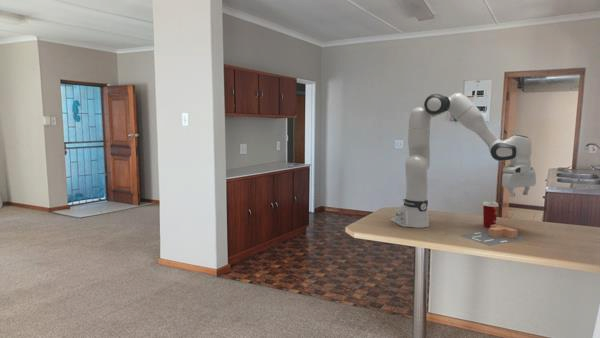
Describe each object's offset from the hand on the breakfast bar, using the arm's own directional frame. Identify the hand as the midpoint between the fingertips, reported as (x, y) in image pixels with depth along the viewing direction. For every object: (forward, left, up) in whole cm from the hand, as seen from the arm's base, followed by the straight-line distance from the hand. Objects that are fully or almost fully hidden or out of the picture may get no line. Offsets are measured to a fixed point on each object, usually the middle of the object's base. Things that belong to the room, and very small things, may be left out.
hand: (518, 195), depth 201 cm
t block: (0, -11, -19) cm, 22 cm away
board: (0, -17, -20) cm, 26 cm away
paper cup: (-15, -1, -20) cm, 25 cm away
